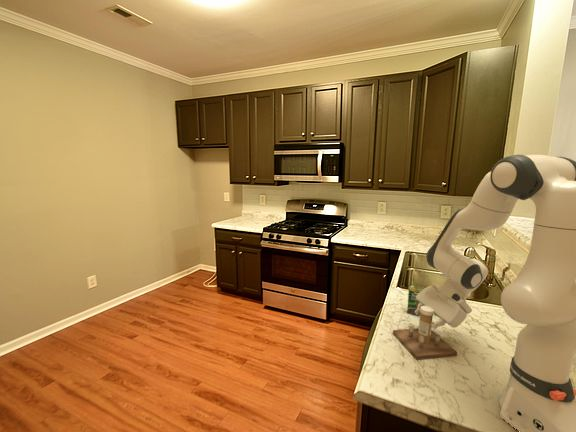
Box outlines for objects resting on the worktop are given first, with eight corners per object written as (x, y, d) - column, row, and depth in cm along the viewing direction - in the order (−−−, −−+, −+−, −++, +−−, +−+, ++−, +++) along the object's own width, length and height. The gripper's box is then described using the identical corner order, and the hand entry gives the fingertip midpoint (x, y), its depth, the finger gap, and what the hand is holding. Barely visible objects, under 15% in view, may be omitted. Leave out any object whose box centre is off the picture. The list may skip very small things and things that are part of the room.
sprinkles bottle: (433, 342, 106) (436, 309, 104) (424, 345, 104) (427, 312, 102) (422, 336, 110) (426, 304, 108) (414, 338, 108) (417, 306, 106)
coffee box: (406, 313, 130) (408, 286, 128) (407, 310, 133) (409, 284, 131) (425, 318, 126) (428, 291, 124) (425, 315, 129) (428, 288, 126)
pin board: (456, 355, 101) (458, 341, 100) (416, 359, 98) (418, 345, 97) (428, 330, 116) (429, 318, 115) (392, 333, 114) (393, 321, 113)
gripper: (427, 278, 115) (403, 302, 115) (466, 302, 95) (437, 330, 95) (436, 288, 116) (412, 311, 116) (476, 313, 96) (447, 341, 97)
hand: (423, 320), depth 106 cm, fingers open, 8 cm apart
